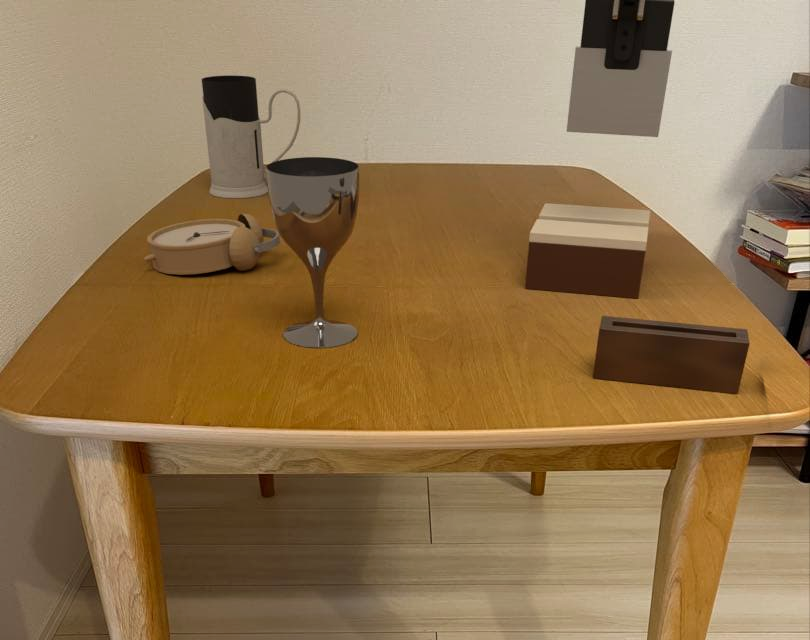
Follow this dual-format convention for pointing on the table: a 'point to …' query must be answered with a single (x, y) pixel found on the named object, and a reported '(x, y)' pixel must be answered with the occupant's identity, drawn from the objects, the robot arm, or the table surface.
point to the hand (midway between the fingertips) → (621, 65)
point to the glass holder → (236, 136)
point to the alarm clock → (209, 245)
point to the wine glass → (315, 230)
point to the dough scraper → (620, 75)
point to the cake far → (595, 215)
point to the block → (671, 354)
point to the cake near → (586, 258)
